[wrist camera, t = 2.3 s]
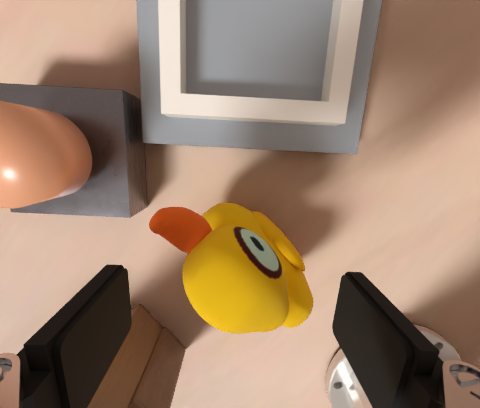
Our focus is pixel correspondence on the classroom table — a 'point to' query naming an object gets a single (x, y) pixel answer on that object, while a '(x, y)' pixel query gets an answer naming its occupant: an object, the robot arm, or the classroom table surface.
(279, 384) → the classroom table surface
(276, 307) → the duckling
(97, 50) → the classroom table surface
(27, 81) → the classroom table surface
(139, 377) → the wooden toy
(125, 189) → the button base
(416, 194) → the classroom table surface
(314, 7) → the tray
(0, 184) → the button
